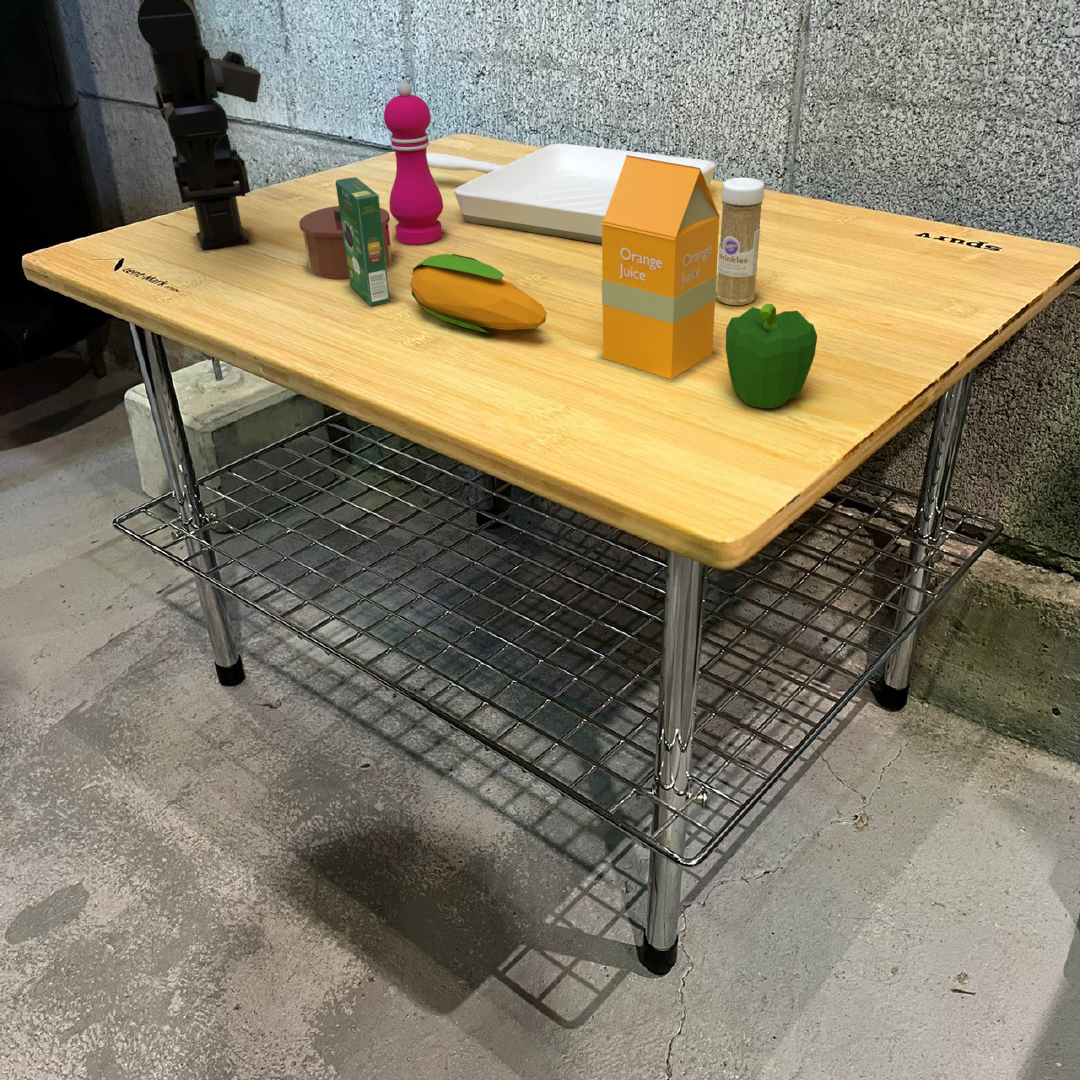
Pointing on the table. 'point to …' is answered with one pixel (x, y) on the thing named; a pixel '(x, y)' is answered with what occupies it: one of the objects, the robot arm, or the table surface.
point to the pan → (548, 188)
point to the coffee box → (363, 240)
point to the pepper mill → (412, 170)
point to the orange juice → (659, 268)
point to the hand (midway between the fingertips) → (204, 180)
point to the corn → (473, 294)
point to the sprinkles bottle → (739, 240)
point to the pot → (335, 254)
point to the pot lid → (329, 222)
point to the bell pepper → (769, 355)
